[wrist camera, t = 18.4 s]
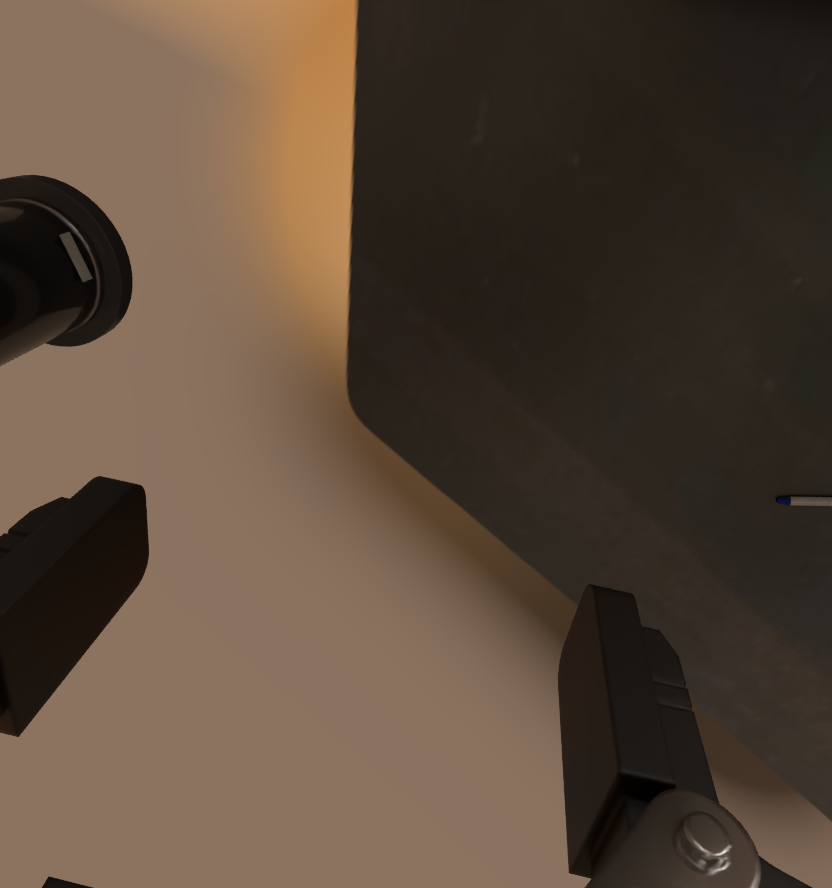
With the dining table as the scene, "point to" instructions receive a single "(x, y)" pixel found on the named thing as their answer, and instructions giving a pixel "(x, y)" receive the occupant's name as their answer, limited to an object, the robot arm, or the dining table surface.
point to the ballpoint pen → (805, 501)
